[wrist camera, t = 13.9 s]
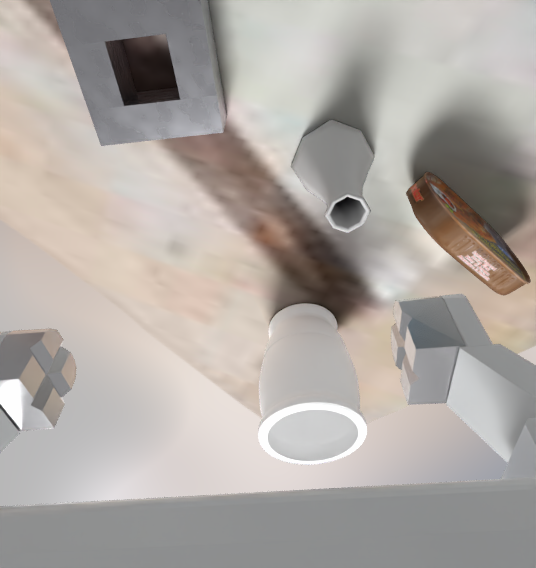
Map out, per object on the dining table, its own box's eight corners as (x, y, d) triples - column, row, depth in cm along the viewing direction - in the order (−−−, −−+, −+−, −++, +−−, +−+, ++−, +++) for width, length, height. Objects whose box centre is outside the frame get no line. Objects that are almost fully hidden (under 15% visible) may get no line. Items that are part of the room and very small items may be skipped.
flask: (277, 166, 41) (279, 221, 33) (330, 103, 37) (347, 146, 29) (333, 209, 43) (348, 268, 36) (388, 153, 40) (418, 206, 32)
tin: (509, 243, 46) (549, 294, 39) (483, 262, 47) (518, 314, 41) (417, 156, 40) (446, 199, 33) (391, 181, 42) (414, 227, 35)
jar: (306, 367, 58) (316, 476, 46) (243, 334, 54) (236, 443, 42) (363, 321, 53) (391, 430, 41) (297, 280, 49) (307, 387, 37)
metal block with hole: (203, -24, 32) (196, -21, 28) (226, 116, 38) (223, 132, 35) (70, -6, 32) (49, -1, 29) (114, 129, 38) (101, 145, 35)
